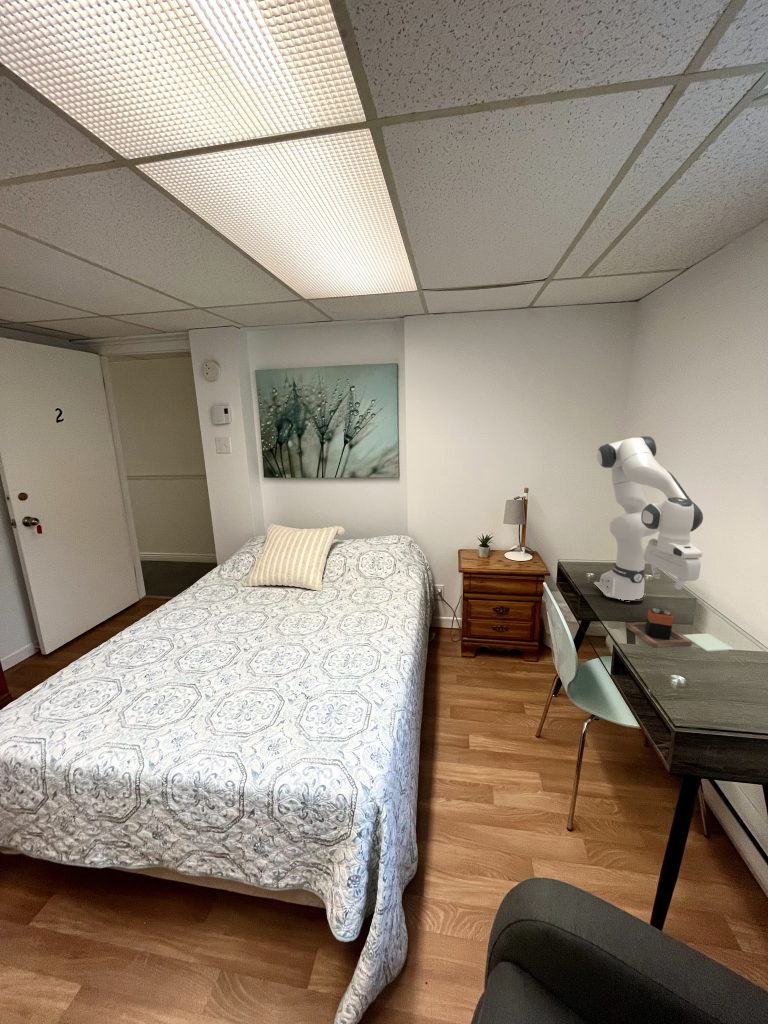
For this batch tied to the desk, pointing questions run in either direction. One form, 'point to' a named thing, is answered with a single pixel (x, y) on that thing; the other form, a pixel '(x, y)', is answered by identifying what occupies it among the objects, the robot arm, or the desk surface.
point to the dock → (664, 643)
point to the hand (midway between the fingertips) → (666, 583)
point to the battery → (659, 624)
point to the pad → (708, 642)
